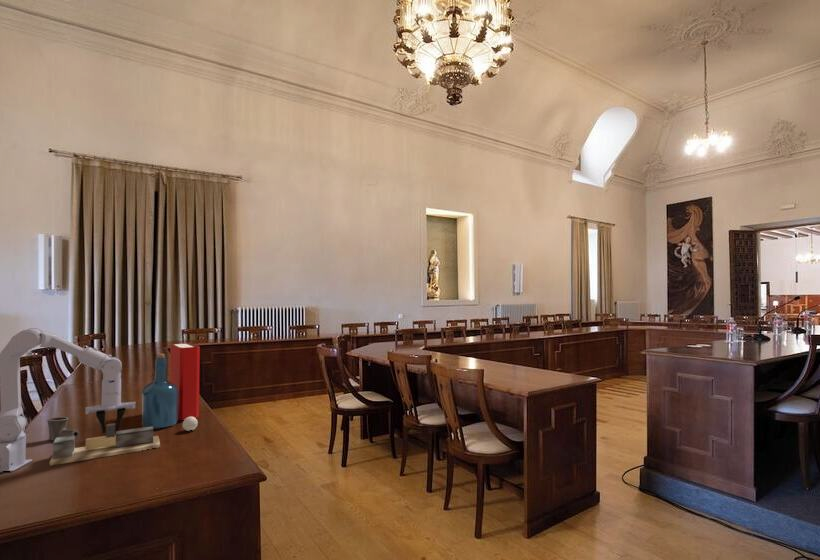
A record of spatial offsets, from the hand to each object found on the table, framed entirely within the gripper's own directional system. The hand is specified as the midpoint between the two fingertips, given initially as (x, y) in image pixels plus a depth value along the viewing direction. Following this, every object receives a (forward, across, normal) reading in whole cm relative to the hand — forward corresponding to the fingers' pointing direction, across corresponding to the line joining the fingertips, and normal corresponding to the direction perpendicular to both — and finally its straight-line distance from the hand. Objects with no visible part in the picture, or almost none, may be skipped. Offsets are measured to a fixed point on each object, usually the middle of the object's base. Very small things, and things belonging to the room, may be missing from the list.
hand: (110, 431), depth 156 cm
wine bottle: (+7, +16, +26) cm, 31 cm away
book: (+7, +27, +42) cm, 50 cm away
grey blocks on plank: (+7, -1, 0) cm, 7 cm away
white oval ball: (+7, +27, +11) cm, 30 cm away
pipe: (+7, -16, +25) cm, 30 cm away
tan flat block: (+5, +3, 0) cm, 5 cm away
